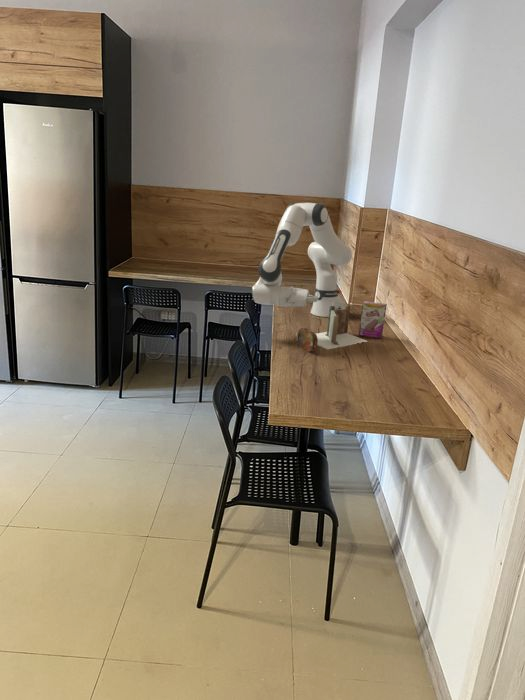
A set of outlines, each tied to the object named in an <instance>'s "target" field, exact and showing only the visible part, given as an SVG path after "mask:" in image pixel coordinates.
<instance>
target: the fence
mask: <svg viewBox="0 0 525 700" xmlns="http://www.w3.org/2000/svg"><path fill="white" fill-rule="evenodd" d="M331 310H332V311H334V312H335V314H336V316H338V326H337V334H342V333H347V334H348V330H349V329H348V328H349V321H350V311H351V306H350V305H346V306H345V309H338V310H335V306H330V309H329V317H327V318H328V320H327V321H328V322H327V330H326V332H327V335H328V336H329V326H330V317H331Z"/></svg>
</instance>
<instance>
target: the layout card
mask: <svg viewBox="0 0 525 700" xmlns="http://www.w3.org/2000/svg"><path fill="white" fill-rule="evenodd" d="M315 334H316V335H317V339H318V342H317V347H319V348H323V349H325V350H332V349H337V348H338V347H339V348H343V347H344V348H345V347H348V345H349V346H353V344H354V345H358V344H357V343H359V344H362V342H364V343H368V340H366V339H364V338H361V337H358V336H356V335H353V334H350V333H348V332H347V333H342V334H337V336H336V343H332V342H331V339H330V337H329V336H328V335H327V331H324V332H318V333H315ZM339 348H338V349H339Z"/></svg>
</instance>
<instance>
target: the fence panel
mask: <svg viewBox="0 0 525 700" xmlns="http://www.w3.org/2000/svg"><path fill="white" fill-rule="evenodd" d="M337 326H338V316H336V314H335V312H334V311H332V310H331V317H330V326H329V337H330V339H331V342H332V343H336V336H337Z"/></svg>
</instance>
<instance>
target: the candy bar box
mask: <svg viewBox="0 0 525 700" xmlns="http://www.w3.org/2000/svg"><path fill="white" fill-rule="evenodd" d="M387 305H388V304H387V303H382V302H381V303H380V302H374V301H367V300H363V303H362V307H361V314H360V322H359V328H358V336H359V335H361V337H366V336H368V338H373V337H374V339H380V338H381V339H382V338H383V332H384V325H385V319H386V313H387V312H386V311H387V308H388V307H387Z"/></svg>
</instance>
